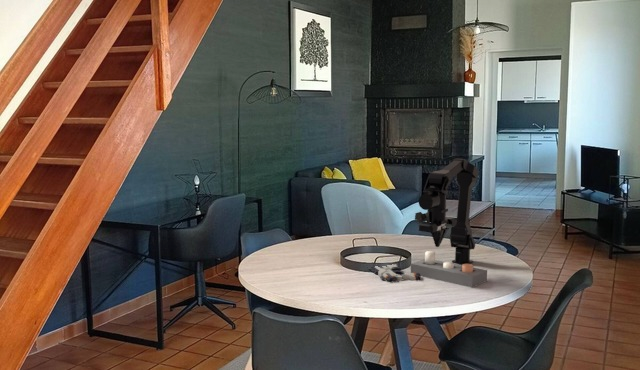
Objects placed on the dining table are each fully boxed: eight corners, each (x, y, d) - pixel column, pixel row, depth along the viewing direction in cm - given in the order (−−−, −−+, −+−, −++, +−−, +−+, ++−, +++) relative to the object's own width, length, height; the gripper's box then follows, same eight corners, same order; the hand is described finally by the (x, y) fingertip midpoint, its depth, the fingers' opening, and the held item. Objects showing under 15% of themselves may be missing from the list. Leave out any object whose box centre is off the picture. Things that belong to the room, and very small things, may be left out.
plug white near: (428, 263, 239) (428, 250, 238) (436, 264, 236) (437, 252, 236) (422, 265, 236) (423, 252, 236) (431, 266, 234) (431, 253, 233)
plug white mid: (446, 274, 234) (446, 261, 233) (455, 276, 231) (455, 263, 231) (440, 276, 231) (441, 263, 231) (449, 278, 229) (450, 265, 228)
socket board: (426, 268, 244) (426, 258, 244) (486, 280, 227) (487, 270, 226) (410, 273, 236) (410, 263, 236) (472, 287, 219) (472, 276, 218)
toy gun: (423, 281, 228) (386, 285, 224) (401, 266, 247) (366, 270, 243) (423, 274, 228) (386, 278, 224) (401, 260, 247) (366, 263, 242)
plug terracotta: (465, 276, 229) (465, 263, 228) (474, 278, 226) (474, 264, 225) (459, 278, 226) (460, 265, 225) (469, 280, 223) (469, 266, 223)
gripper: (432, 200, 243) (431, 239, 245) (406, 207, 229) (405, 248, 231) (457, 203, 236) (456, 243, 238) (432, 210, 222) (431, 252, 224)
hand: (437, 246), depth 233 cm, fingers closed
